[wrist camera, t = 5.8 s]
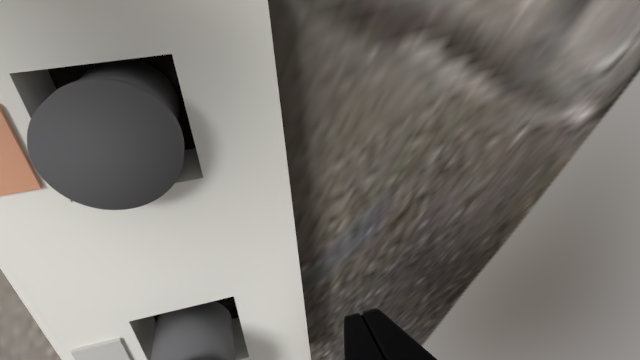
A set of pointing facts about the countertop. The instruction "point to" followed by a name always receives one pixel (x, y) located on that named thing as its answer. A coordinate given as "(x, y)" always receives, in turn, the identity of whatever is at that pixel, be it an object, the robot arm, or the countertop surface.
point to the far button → (194, 334)
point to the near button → (110, 136)
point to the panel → (170, 209)
